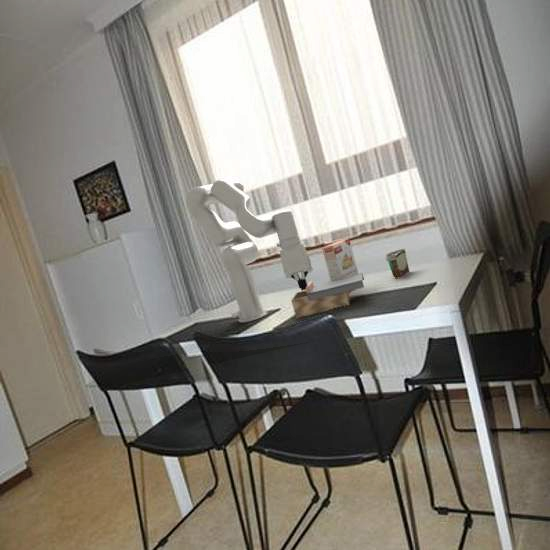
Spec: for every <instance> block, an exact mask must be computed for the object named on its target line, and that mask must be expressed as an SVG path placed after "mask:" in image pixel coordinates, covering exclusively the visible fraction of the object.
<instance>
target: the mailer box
mask: <svg viewBox="0 0 550 550" xmlns="http://www.w3.org/2000/svg"><path fill="white" fill-rule="evenodd" d="M349 300H350V301H351V295H350V293H349V291H346V292H342V293H338V294H334V295H330V296H326V297H322V298H318V299H314V300H310V301H308V298H307V292H306V290H303V291H302V290H301V291H298V292H295V294H294V295H293V297H292V298H291V300H290V301H291V304H292V308H293V311H294V312H293V313H294V314H295V318H296V319H299V318H302V317H305V316H306V317H307V316H310V315H315V314H319V313H322V312H327V311H331V310H334V309H333V308H336V309H338V308H337V307H340V308H342V307H341V306H344V307H346V306H345V305H348V306H350V302H349ZM330 309H331V310H330Z"/></svg>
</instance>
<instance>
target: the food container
mask: <svg viewBox="0 0 550 550" xmlns="http://www.w3.org/2000/svg"><path fill="white" fill-rule="evenodd" d="M406 253H407V251H406V249H405V248H402V249H398V250H394V251H390V252H389V253H386V255H385V261H386V262H387V263H388V264H389V265H388V266H389V268H390V271H391V273H392V277H393V278H394V277H395V278H394V279H399V278H398V277H402V276H404V275H405V274H406V273H408V272H409V273H410V268H409V263H408V258H407V255H406ZM409 273H408V274H409ZM406 275H407V274H406ZM406 275H405V276H406ZM405 276H404V277H405ZM402 278H403V277H402Z"/></svg>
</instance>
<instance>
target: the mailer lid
mask: <svg viewBox="0 0 550 550" xmlns="http://www.w3.org/2000/svg"><path fill="white" fill-rule="evenodd" d="M364 280H365V277H364V274H363V272H362V273H358V274H357V275H353V276H349V277H345V278H341V279H337V280H333V281H331V280H330V281H327V282H326V281H325V282H322V283H318V284H315V285H314V283H313V281H309V282H308V283H307V286H306V288H305V289H306V292H307V298H308V301H310V300H314V299H318V298H322V297H326V296H330V295H334V294H338V293H342V292H346V291H350V290H354V291H355V290H358V289H362V288H364V287H365V286H364V282H363V281H364Z"/></svg>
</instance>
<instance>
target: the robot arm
mask: <svg viewBox="0 0 550 550" xmlns="http://www.w3.org/2000/svg"><path fill="white" fill-rule="evenodd" d="M244 191H245V189H244V184H243V182H242V181H241V180H240V179H238V178H236V177H228V178H222V179H218V180H215V182H214V181H213V183H209V184H204V185H199V186H198V185H197V186H195V187H192V188H190V189H189V190H188V191H187V193H186V195H185V206H186V208H187V209H186V210H187V211H188V213H189V214H190V216H191V217H192V218H193V219H194V221H196V223H198V225H199V226H200V227H201V229H202V231H203V232H204V234H205V235H206V236H207V237H208V239H209V241H211V243H212V245H213V246H215V247H216V248H217V249H218V248H219V249H220V248H225V247H226V248H225V249H223V251H222V252H221V254H220V255H221V256H220V260H221V263H222V265H223V267H224V269H225V271H226V273H227V275H228V279H229V281H230V284H231V287H232V290H233V294H234V296H235V300H236V303H237V306H238V311H236V312H233V313H232V312H231V317H232V318H238V322H239V323H249V322H252V321H255V320H258V319H261V318H263V317H266V316H267V315H268V313H269V312H268V311H267V310H266V309H263V306H262V302H261V300H260V299H261V298H260V296H259V292H258V288H257V286H256V282H255V279H254V276H253V273H252V271H251V270H250V269H249V267H247V265H248V264H251V263H253V262H256V260H257V259H258V257H259V249H258V247H257V245H256V243H255V241H254V240H253V239H252V237H255V238H257V239H261V238H265V237H268V236H271V235H274V234H277V237H278V241H279V242H278V243H276V247H277V248H281V249H280V250H279V254H280V255H279V256H280V261H281V265H282V268H283V269H282V270H283V273H284V274H285V278H286V279H293V280H295V281H296V282H297V285H298V288H299V289H300V290H301V291H305V290H306V289H305V288H306V286H307V285H308V283H307V280H306V278H307V276H308V274H310V273H312V272H313V271H314V268H313V267H312V263H311V259H310V257H309V254H308V251H307V249H306V247H305V245H304V243H301V238H300V236H299V232H298V229H297V226H296V222H295V219H294V215H293V212H292V211H291V210H290V209H285V210H282V211H281V210H280V211H278V212H275V213H271V214H270V213H269V214H266V215H263V216H259V217H256V216H255V215H254V214H253V213H251V212H250V211H249V210H248V209H249V207H250V204H251V199H250V196H249V195H247V194H246V193H244ZM215 204H216V205H217V204H222V205H223V206H224V207H226V208H228V209H229V210H230V211H231V212H233V213H234V214H235V218H236V221H228V222H224V221H222V220H221V218H220V216H219V215H218V213H216V212H215V211H214V210H212V209H210V208H209V207H207V206H212V205H215ZM250 235H251V236H252V237H251V236H250ZM299 273H300V275H301V277H300V275H299Z"/></svg>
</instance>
